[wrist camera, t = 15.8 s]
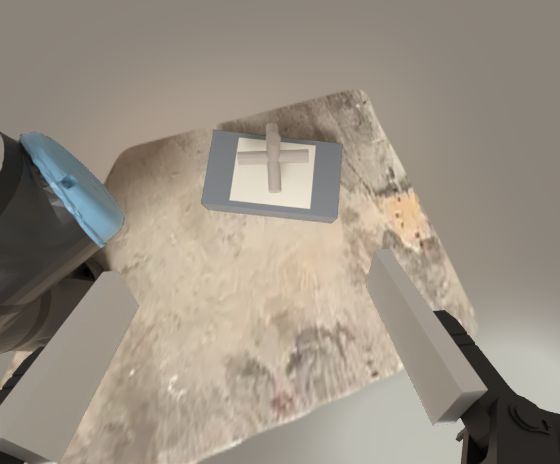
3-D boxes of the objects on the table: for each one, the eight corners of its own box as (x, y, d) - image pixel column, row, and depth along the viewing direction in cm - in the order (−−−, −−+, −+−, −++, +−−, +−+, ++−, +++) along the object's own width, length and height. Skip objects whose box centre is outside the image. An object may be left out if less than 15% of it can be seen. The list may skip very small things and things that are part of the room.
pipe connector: (241, 145, 40) (231, 103, 30) (301, 143, 40) (310, 101, 30) (243, 203, 38) (233, 178, 28) (305, 200, 39) (316, 175, 29)
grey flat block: (208, 209, 42) (200, 202, 38) (219, 142, 45) (213, 129, 41) (331, 223, 42) (337, 217, 38) (336, 155, 44) (342, 143, 40)
